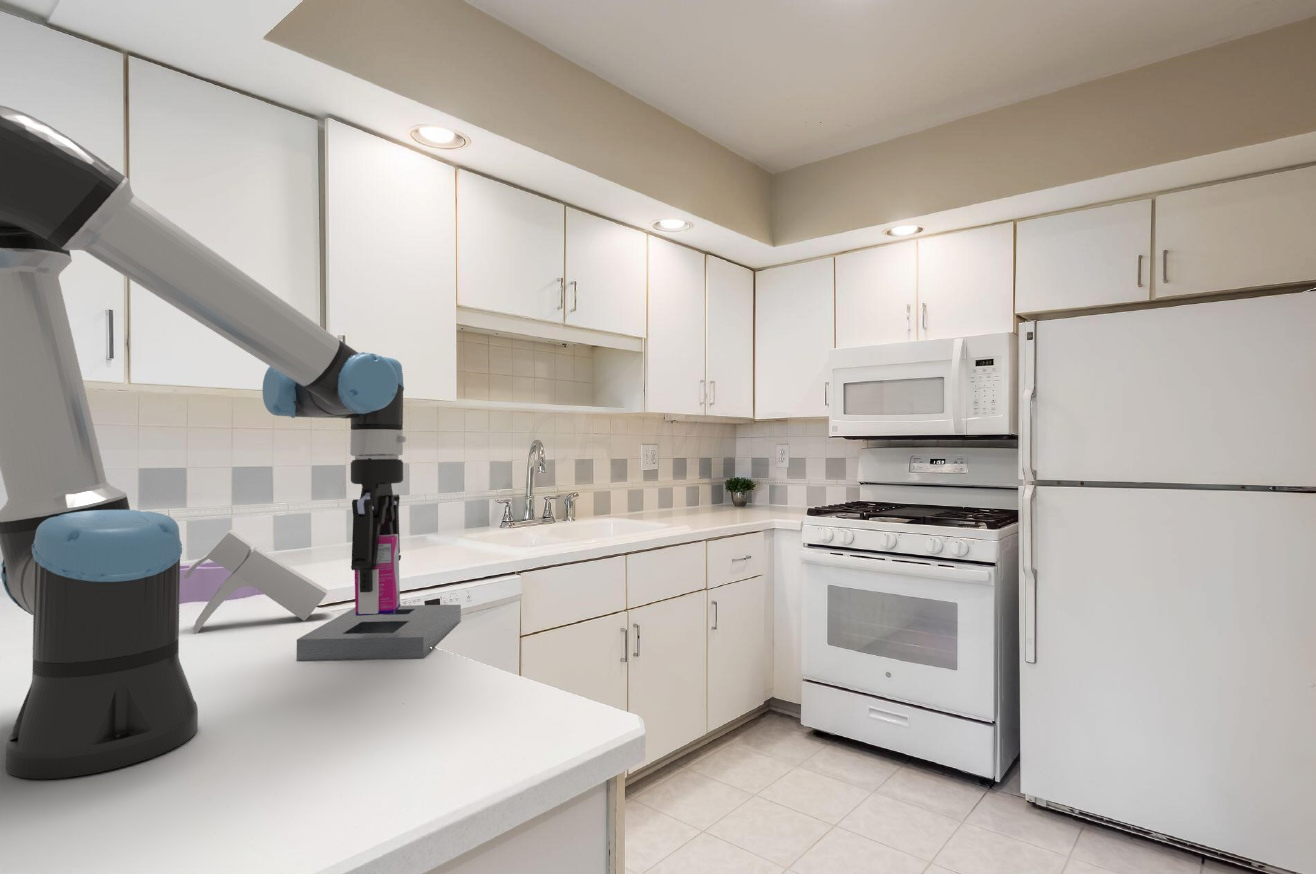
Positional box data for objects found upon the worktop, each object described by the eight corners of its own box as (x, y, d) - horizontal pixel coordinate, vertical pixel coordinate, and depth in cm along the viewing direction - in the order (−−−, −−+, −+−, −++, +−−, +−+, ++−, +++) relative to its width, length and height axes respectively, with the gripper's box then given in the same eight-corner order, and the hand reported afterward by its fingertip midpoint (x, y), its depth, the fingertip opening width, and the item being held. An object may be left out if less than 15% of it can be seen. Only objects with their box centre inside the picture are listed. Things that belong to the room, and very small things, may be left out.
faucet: (328, 592, 125) (227, 527, 117) (261, 672, 119) (152, 609, 112) (325, 587, 130) (229, 524, 123) (262, 663, 125) (157, 602, 117)
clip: (152, 609, 135) (153, 574, 135) (151, 599, 145) (151, 566, 145) (269, 596, 147) (269, 563, 147) (260, 587, 157) (260, 557, 157)
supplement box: (361, 608, 108) (361, 535, 109) (400, 606, 110) (400, 533, 110) (353, 616, 103) (353, 539, 103) (395, 614, 104) (395, 537, 104)
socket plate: (423, 658, 100) (423, 637, 100) (296, 660, 99) (296, 639, 99) (460, 621, 122) (460, 604, 122) (357, 623, 121) (357, 606, 121)
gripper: (379, 458, 97) (379, 622, 97) (420, 457, 117) (420, 594, 116) (324, 458, 97) (324, 623, 96) (375, 458, 116) (375, 595, 116)
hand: (377, 607), depth 106 cm, fingers closed on supplement box, 6 cm apart
